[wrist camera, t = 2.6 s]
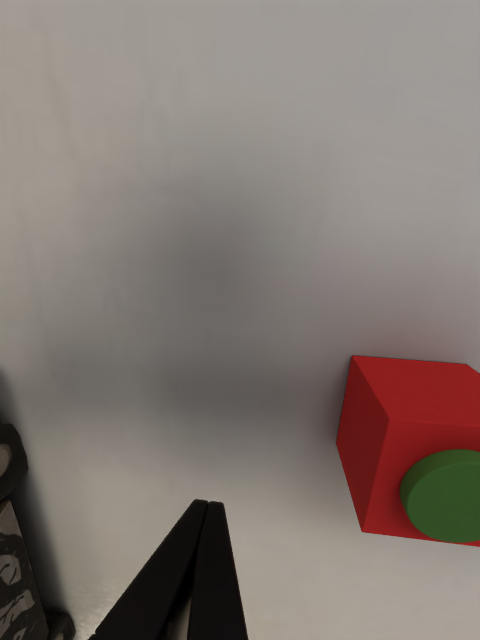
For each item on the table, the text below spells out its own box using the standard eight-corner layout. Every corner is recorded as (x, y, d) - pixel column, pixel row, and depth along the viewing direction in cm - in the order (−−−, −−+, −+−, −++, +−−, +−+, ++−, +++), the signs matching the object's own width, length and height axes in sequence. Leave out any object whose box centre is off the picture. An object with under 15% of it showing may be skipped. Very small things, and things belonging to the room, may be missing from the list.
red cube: (467, 364, 13) (584, 449, 8) (438, 454, 14) (521, 570, 9) (351, 354, 13) (397, 431, 8) (335, 443, 15) (366, 551, 10)
